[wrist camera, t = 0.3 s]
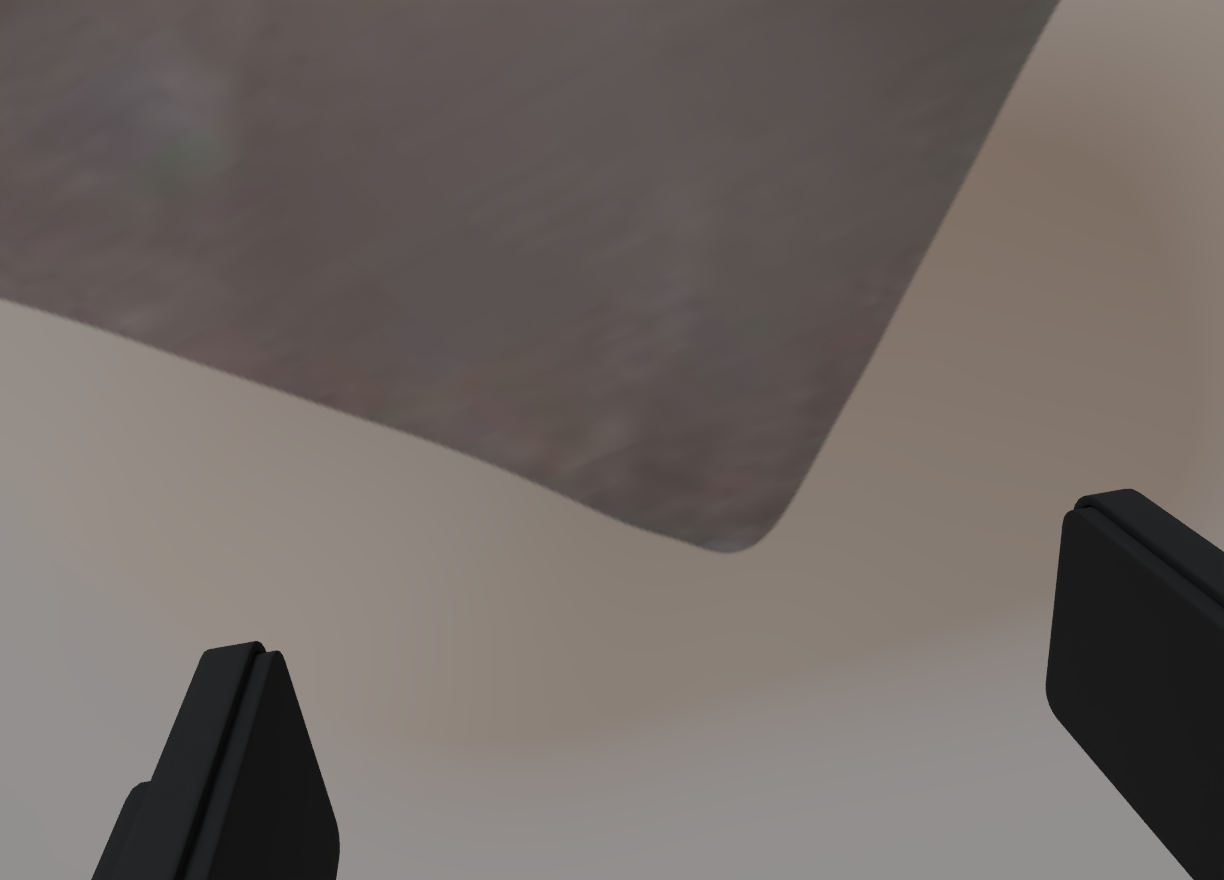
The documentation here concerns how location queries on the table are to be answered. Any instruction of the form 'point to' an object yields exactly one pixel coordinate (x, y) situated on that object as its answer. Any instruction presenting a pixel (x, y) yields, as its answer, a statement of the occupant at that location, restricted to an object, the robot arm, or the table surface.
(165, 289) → the table surface
